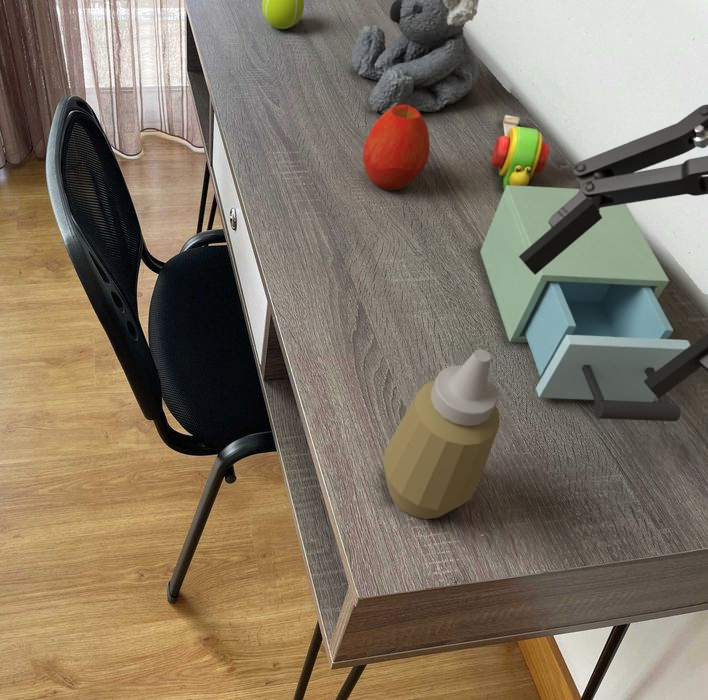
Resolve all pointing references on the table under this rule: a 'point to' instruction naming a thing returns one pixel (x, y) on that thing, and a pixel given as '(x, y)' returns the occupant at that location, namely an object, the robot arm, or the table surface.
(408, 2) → the koala plush
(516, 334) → the cabinet
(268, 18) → the tennis ball
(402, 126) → the red egg-shaped piece
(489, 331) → the table surface
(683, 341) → the drawer
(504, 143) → the toy measuring tape
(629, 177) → the robot arm
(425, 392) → the squeeze bottle
